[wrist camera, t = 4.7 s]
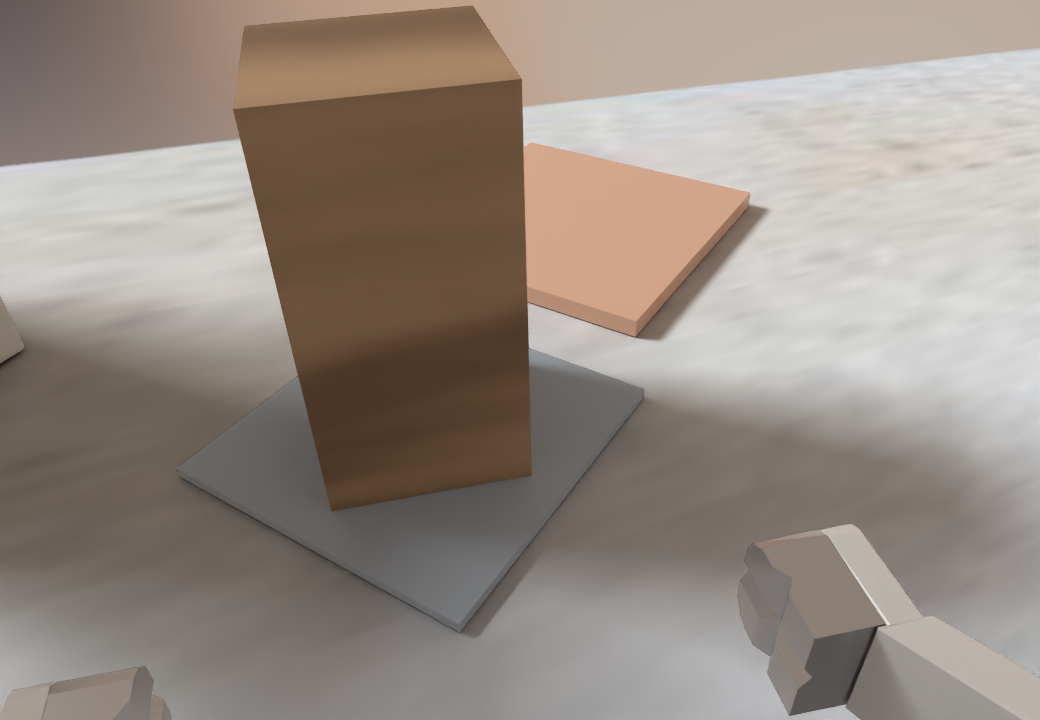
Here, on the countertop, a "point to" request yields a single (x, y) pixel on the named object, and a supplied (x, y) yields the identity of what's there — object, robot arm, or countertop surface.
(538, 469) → the grey square tile
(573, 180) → the pad
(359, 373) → the walnut block
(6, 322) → the supplement box
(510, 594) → the countertop surface
